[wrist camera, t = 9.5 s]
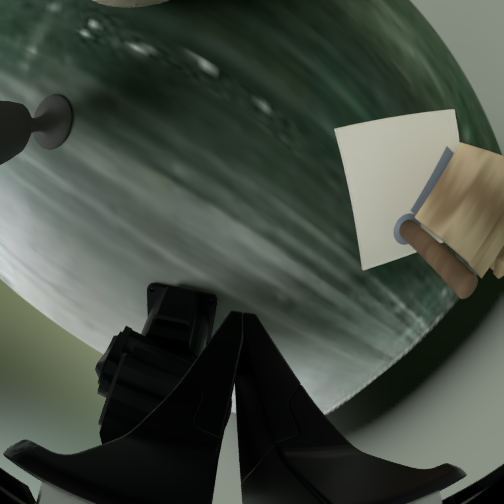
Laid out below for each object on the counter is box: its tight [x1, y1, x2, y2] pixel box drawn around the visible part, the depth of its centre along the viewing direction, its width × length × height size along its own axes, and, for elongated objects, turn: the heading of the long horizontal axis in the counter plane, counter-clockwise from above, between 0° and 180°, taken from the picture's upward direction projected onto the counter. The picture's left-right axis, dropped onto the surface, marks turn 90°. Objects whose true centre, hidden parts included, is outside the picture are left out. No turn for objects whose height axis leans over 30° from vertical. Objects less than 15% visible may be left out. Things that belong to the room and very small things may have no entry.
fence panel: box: [414, 143, 504, 278], centre depth 15 cm, size 9×1×9 cm, turn 151°
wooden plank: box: [399, 220, 504, 299], centre depth 17 cm, size 8×2×9 cm, turn 108°
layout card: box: [334, 109, 460, 270], centre depth 20 cm, size 12×12×1 cm
